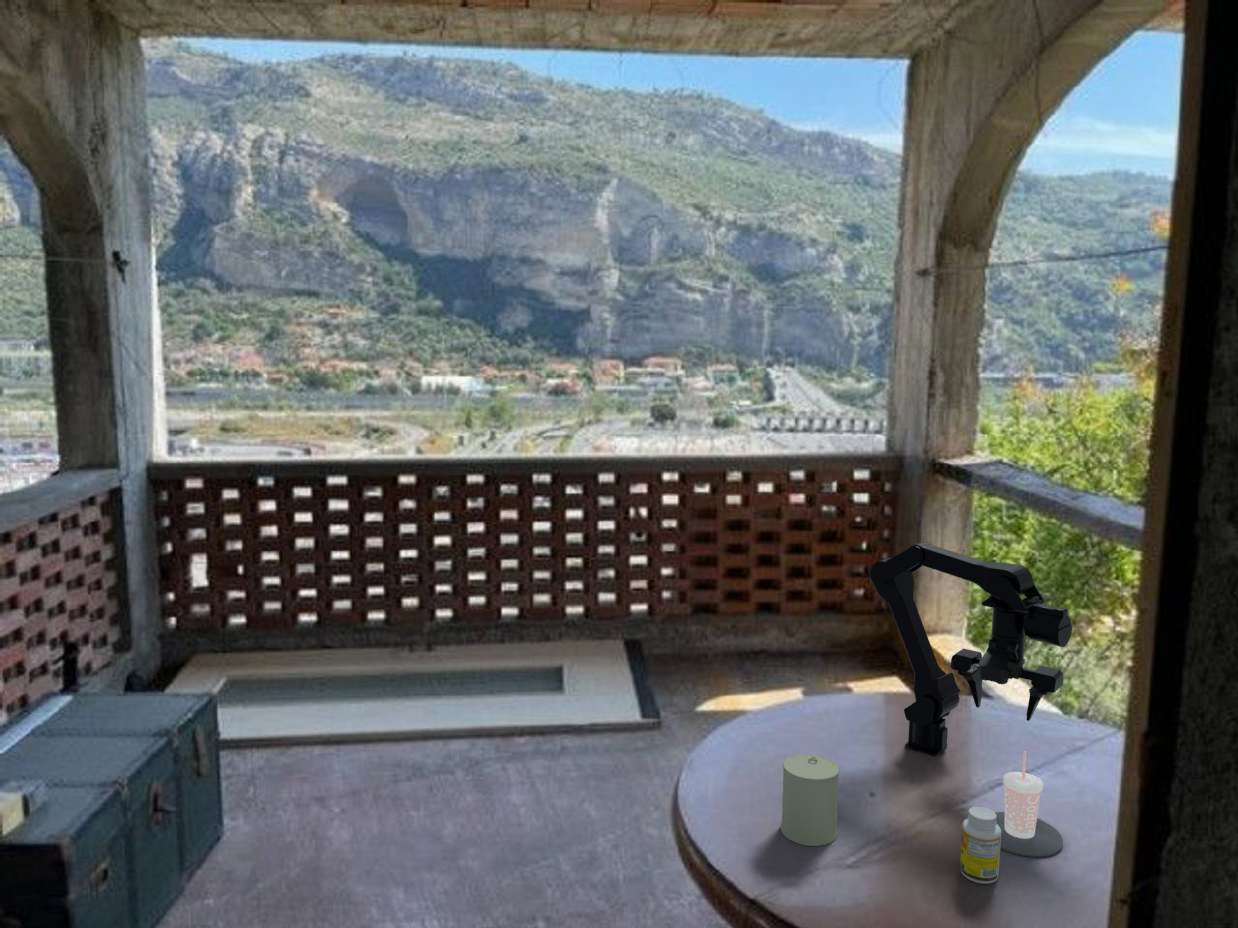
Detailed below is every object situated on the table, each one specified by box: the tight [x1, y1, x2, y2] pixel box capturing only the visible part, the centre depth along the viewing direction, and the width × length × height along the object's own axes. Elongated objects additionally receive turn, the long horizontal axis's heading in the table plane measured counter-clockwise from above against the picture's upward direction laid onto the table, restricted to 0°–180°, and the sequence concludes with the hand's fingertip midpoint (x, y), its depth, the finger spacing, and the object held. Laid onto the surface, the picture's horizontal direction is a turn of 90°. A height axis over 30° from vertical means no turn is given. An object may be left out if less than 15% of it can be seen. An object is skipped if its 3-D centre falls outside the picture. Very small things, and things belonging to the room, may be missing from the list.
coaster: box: [994, 811, 1064, 858], centre depth 153 cm, size 13×13×1 cm
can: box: [780, 753, 840, 847], centre depth 153 cm, size 9×9×12 cm
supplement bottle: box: [959, 806, 1001, 885], centre depth 141 cm, size 6×6×10 cm
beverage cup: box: [1002, 750, 1044, 839], centre depth 152 cm, size 6×6×14 cm
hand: (1002, 713), depth 173 cm, fingers open, 9 cm apart
